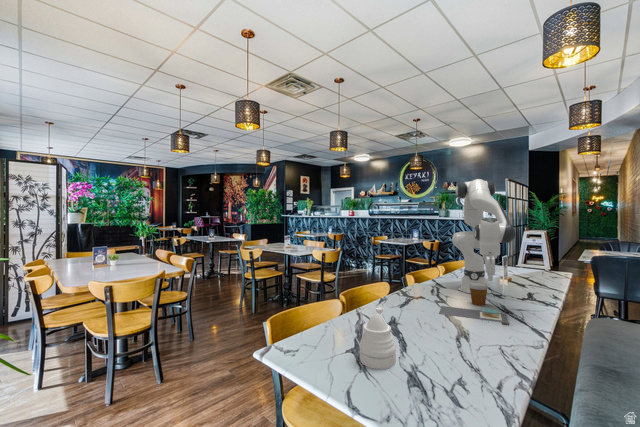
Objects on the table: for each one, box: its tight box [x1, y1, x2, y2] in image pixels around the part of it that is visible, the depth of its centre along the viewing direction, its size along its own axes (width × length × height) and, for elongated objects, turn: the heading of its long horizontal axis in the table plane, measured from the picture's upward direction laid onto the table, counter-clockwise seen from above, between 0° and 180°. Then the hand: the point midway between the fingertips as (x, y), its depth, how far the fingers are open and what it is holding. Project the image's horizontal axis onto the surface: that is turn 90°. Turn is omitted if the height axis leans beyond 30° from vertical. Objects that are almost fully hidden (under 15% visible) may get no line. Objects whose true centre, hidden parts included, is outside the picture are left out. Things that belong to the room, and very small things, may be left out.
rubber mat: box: [438, 305, 510, 326], centre depth 150 cm, size 14×30×1 cm, turn 63°
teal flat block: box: [481, 308, 500, 319], centre depth 146 cm, size 7×5×2 cm
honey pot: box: [359, 306, 397, 370], centre depth 108 cm, size 13×13×18 cm
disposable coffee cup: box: [469, 282, 489, 307], centre depth 165 cm, size 10×10×12 cm
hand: (489, 278), depth 149 cm, fingers open, 8 cm apart
